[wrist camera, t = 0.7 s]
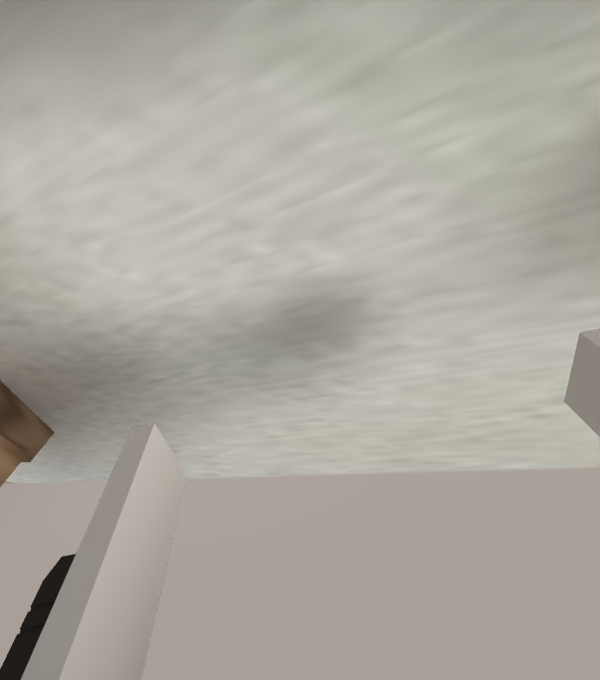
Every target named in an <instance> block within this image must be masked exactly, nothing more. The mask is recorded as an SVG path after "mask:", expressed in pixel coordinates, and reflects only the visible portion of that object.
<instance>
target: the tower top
mask: <svg viewBox="0 0 600 680" xmlns="http://www.w3.org/2000/svg"><path fill="white" fill-rule="evenodd" d="M26 455H27V453H26V452H24V451H23V450H21V449H20V448H19V447H17V446H16V445H14V444H13V443H11V442H10V441H9V440H7V439H6V438H4V437H3V436H2V435H0V487H1V486H2V484H3V483H4V482H5V481H6V480H7V478H8V477H9V476H10V475H11V473H12V472H13V471H14V470H15V469H16V467H17V466H18V465H19V464H20V463H21V461H22V460H23V459H24V458H25V456H26Z"/></svg>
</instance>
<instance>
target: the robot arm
mask: <svg viewBox="0 0 600 680" xmlns="http://www.w3.org/2000/svg"><path fill="white" fill-rule="evenodd" d="M564 402H565V403H566V404H567V405H568V406H569V407H570V408H571V409H572V410H573V411H574V412H575V413H576V414H577V415H578V416H579V417H580V418H581V419H582V420H583V421H584V422H585V423H586V424H587V425H588V426H589V427H590V428H591V429H592V430H593V431H594V432H595V433H596V434H597V435H598V436H599V437H600V329H595V330H591V331H586V332H581V333H580V334H579V338H578V343H577V347H576V352H575V356H574V360H573V365H572V369H571V374H570V378H569V382H568V387H567V391H566V396H565V400H564ZM186 481H187V477H186V475H185V473H184V472H183V470H182V468H181V467H180V465H179V463H178V462H177V460H176V458H175V457H174V455H173V453H172V452H171V450H170V448H169V447H168V445H167V443H166V442H165V440H164V438H163V437H162V435H161V433H160V432H159V430H158V428H157V427H156V425H155V423H153V424H148V425H143V426H138V427H134V428H131V430H130V432H129V434H128V437H127V439H126V441H125V444H124V446H123V448H122V450H121V453H120V455H119V457H118V459H117V462H116V464H115V466H114V469H113V471H112V473H111V475H110V478H109V480H108V482H107V485H106V487H105V489H104V492H103V494H102V496H101V498H100V500H99V503H98V505H97V507H96V510H95V512H94V514H93V516H92V519H91V521H90V523H89V525H88V528H87V530H86V533H85V535H84V537H83V539H82V541H81V544H80V546H79V548H78V550H77V553H76V554H73V555H68V556H63V557H61V558H60V560H59V561H58V562H57V564H56V565H55V566H54V568H53V569H52V570H51V571H50V573H49V574H48V575H47V576H46V578H45V579H44V580H43V582H42V584H41V586H40V588H39V590H38V592H37V595H36V597H35V599H34V601H33V603H32V605H31V611H30V612H28V613H27V615H26V617H25V619H24V622H23V623H22V626H21V628H20V630H21V631H20V634H17V636H16V638H15V640H14V642H13V644H12V646H11V648H10V650H9V653H8V654H7V657H6V659H5V661H4V663H3V665H2V667H1V669H0V680H141V678H142V674H143V670H144V666H145V661H146V657H147V652H148V648H149V644H150V639H151V635H152V630H153V626H154V621H155V617H156V613H157V609H158V604H159V600H160V595H161V591H162V587H163V582H164V578H165V573H166V569H167V565H168V560H169V556H170V551H171V547H172V542H173V538H174V533H175V529H176V525H177V520H178V516H179V512H180V507H181V503H182V499H183V494H184V490H185V485H186Z"/></svg>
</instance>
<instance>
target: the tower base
mask: <svg viewBox="0 0 600 680" xmlns="http://www.w3.org/2000/svg"><path fill="white" fill-rule="evenodd" d="M53 433H54V432H53V431H52V430H51V429H50V428H49V427H48V426H47V425H46V424H45V423H44V422H43V421H42V420H41V419H40V418H39V417H37V416H36V415H35V414H34V413H33V412H32V411H31V410H30V409H29V408H28V407H27V406H26V405H25V404H24V403H23V402H22V401H21V400H20V399H19V398H18V397H17V396H16V395H14V394H13V393H12V392H11V391H10V390H9V389H8V388H7V387H6V386H5V385H4V384H3V383H2V382H1V381H0V435H2V436H3V437H4V438H6V439H7V440H9V441H10V442H11V443H13V444H14V445H16V446H17V447H19V448H20V449H21V450H23V451H24V452H26V453H27V455H26V456H25V458H24V459H23V460H22V461H21V462H31V460H32V459H33V458H34V457H35V455H36V454H37V453H38V452H39V450H40V449H41V448H42V447H43V446H44V444H45V443H46V442H47V441H48V439H49V438H50V437H51V436H52V434H53Z"/></svg>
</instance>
